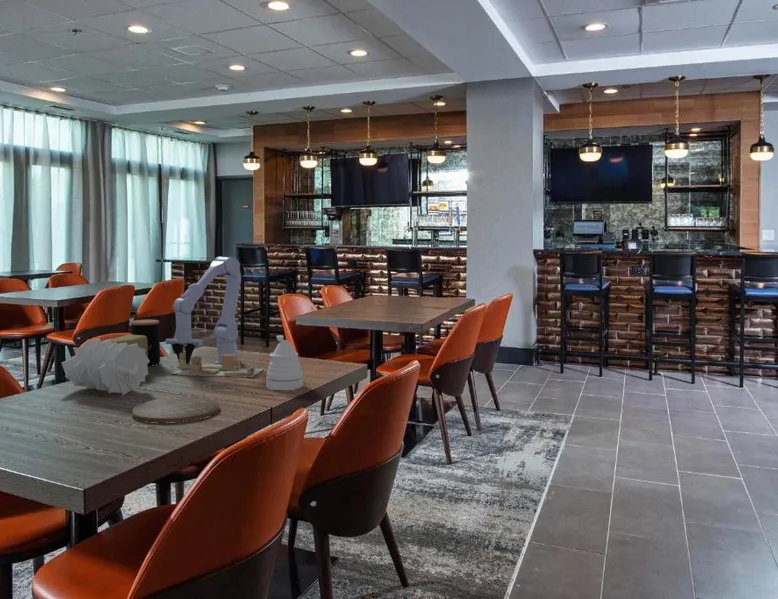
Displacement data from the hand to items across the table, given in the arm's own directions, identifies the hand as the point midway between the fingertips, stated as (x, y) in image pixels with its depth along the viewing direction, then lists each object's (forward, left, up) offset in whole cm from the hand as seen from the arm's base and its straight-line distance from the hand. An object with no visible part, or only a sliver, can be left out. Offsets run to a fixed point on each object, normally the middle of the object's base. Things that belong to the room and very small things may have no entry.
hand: (184, 362), depth 259 cm
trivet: (+59, +24, -3) cm, 64 cm away
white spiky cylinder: (+38, -10, -3) cm, 40 cm away
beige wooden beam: (0, +10, -3) cm, 10 cm away
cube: (0, +19, -1) cm, 19 cm away
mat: (+3, +15, -3) cm, 16 cm away
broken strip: (+7, +18, -3) cm, 20 cm away
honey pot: (+22, +47, -3) cm, 52 cm away
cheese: (+19, -17, -3) cm, 26 cm away
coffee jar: (-6, -19, -3) cm, 20 cm away
